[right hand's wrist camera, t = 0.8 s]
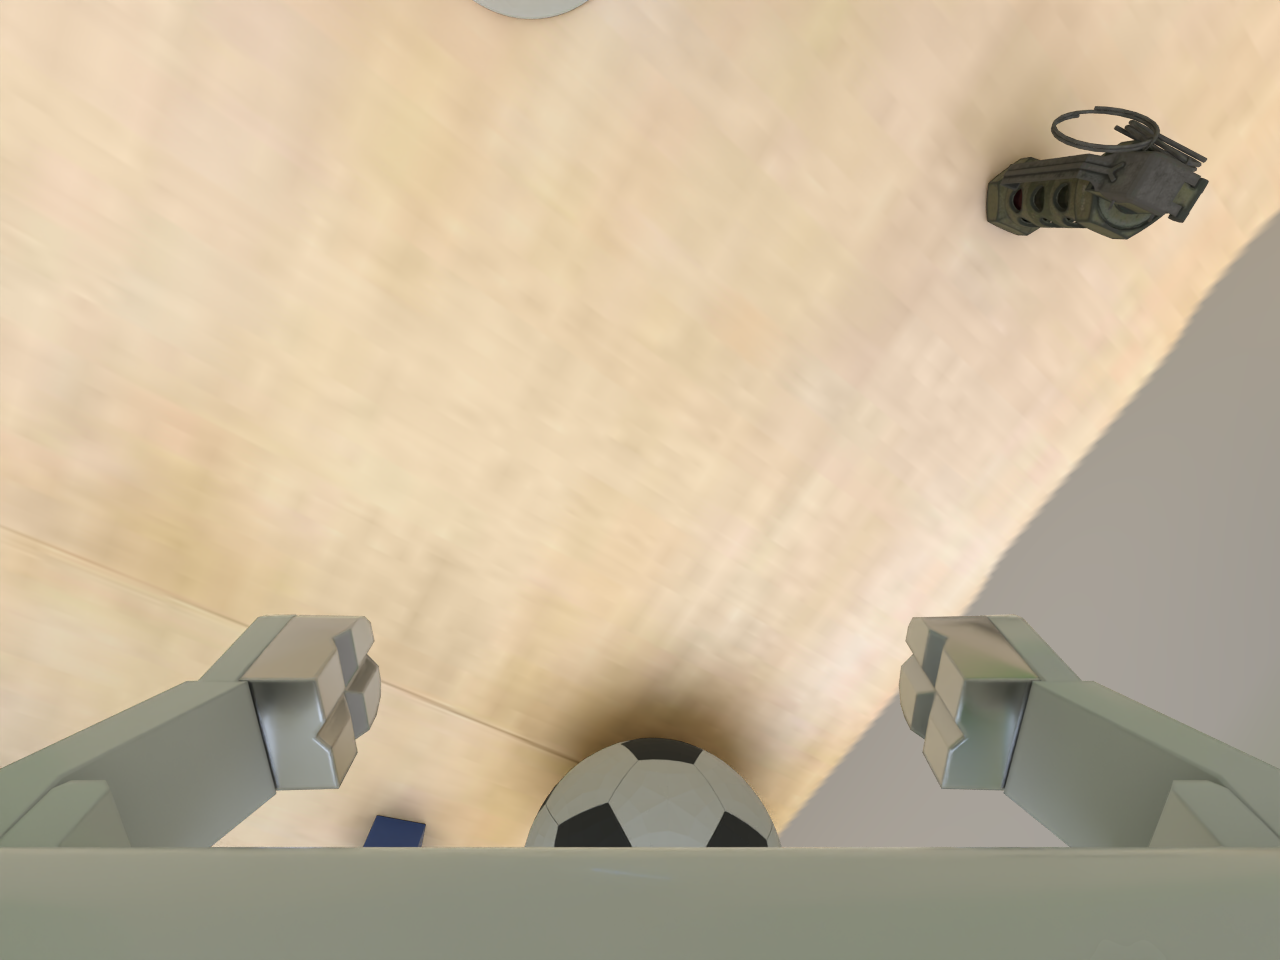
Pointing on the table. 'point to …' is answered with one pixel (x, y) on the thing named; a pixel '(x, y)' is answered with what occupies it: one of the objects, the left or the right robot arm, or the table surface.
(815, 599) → the table surface
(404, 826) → the brick
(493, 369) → the table surface
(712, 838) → the soccer ball
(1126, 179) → the grenade
